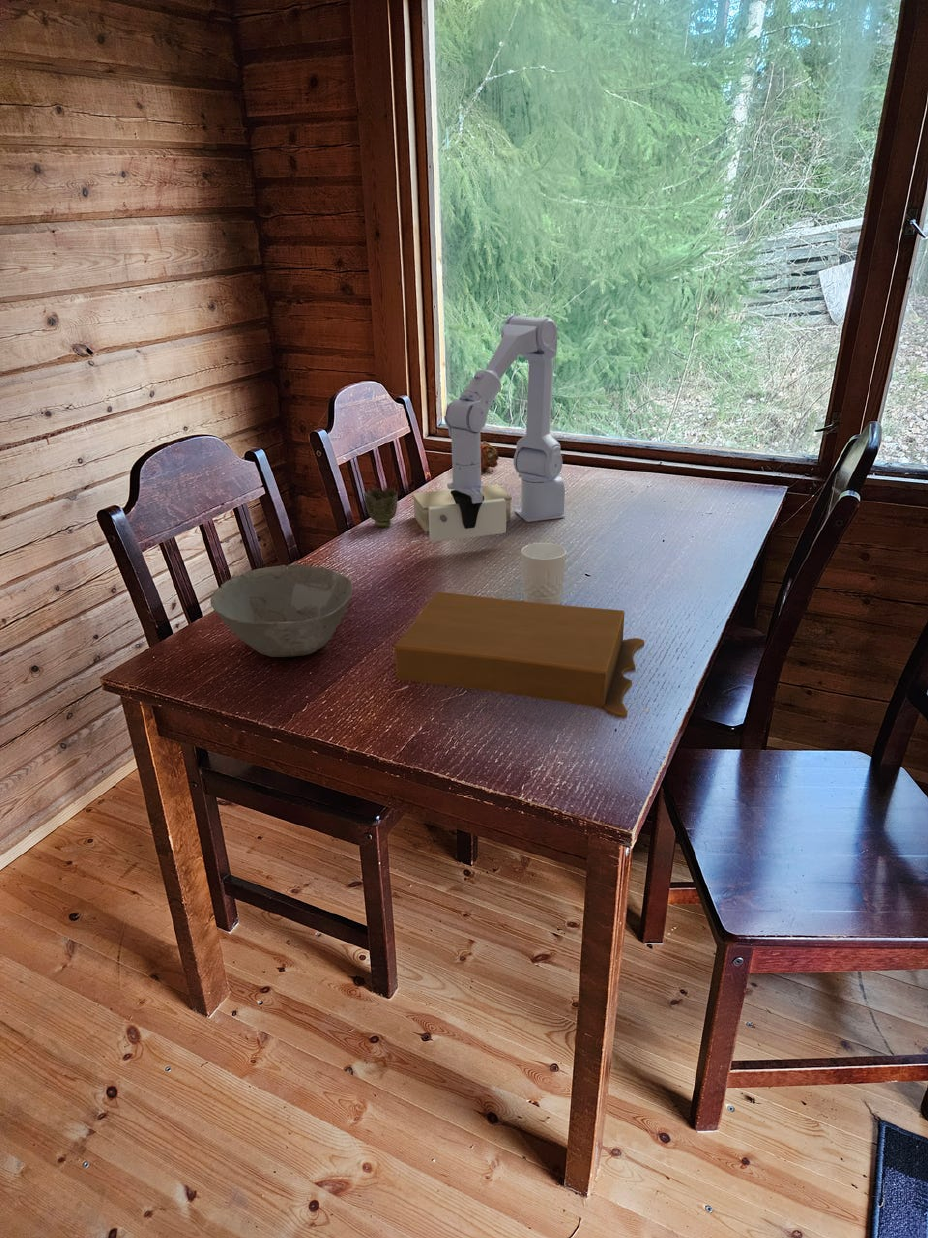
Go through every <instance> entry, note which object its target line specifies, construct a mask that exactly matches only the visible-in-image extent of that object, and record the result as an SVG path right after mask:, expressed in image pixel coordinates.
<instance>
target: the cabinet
mask: <svg viewBox="0 0 928 1238" xmlns="http://www.w3.org/2000/svg"><path fill="white" fill-rule="evenodd" d="M452 490H455V489H443V490H434V491H426V492H416V493H412V494H411V495H412V499H413V515H414V516H413V517H414V519H415V520H416V521H417V523H418V524H419V526H420V527H421V528H422V530H423V531H424V532H425V533H426V532H429V510H428V507H433V506H441V505H450V504H456V503H455V500H454V498H453V496H452V494H451V491H452ZM481 492H482V493H483V496H484V500H493V499H501V498H504V499H505V500H506V530H507V528H508V526H507V525H508V522H511V516H512V515H511V514H512V513H511V508H512V507H511V505H512V503H511V502H512V500H513V499H512V496H511V495H509V493H507V491H505V490H504V489H503V488H502V487H501V486H499V484H490V485H489V484H487V485H482V491H481Z"/></svg>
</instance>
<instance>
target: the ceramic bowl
mask: <svg viewBox="0 0 928 1238" xmlns="http://www.w3.org/2000/svg"><path fill="white" fill-rule="evenodd" d="M353 591H354V585H353V583H352V580H351V579H350V578H349V577H348V576H346V575H345V574H343V573H340V572H338V571H336V570H333V569H330V568H326V567H322V566H315V565H313V566H312V565H309V564H300V563H293V564H287V565H285V564H282V565H277V566H268V567H260V568H256V569H252V570H248V571H246V572H243V573H241V574H240V575H239V574H238V575H235V576H233V577H232V578H231V577H230V579H227V580H226V581H225V582H223V583H222V584H220V587H217V588H216V589H215V590H214V591H213V592H212V595H211V597H210V605H211V608H212V609H213V610H214V612H215V613H216V614H217V615H218V616H219V617H220V619H222V620H223V621H222V622H224V623H225V625H226V626H227V627H228V629H230V630H231V631H232V633H233V634H235V636H236V637H238V639H240V640H241V641H242V642H243V643H245V644H246V645H248V646H249V647H251V649H254V650H255V651H257V652H258V653H259V654H261V655H263V656H267V657H271V658H290V657H300V656H301V657H302V656H308V655H311V654H313V653H315V652H316V651H319V649H321V648H323V647H325V646H326V644H327V643H328V641H330V639H331V638H332V637H333V635H334V633H335V631H337V627H338V626H339V625H340V623H341V621H342V619H343V617H344V615H345V613H346V611H347V609H348V605H349V603H350V600H351V598H352V595H353Z"/></svg>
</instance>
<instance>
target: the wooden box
mask: <svg viewBox="0 0 928 1238" xmlns="http://www.w3.org/2000/svg"><path fill="white" fill-rule="evenodd" d="M625 614H626V613H625V610H620V609H609V608H599V607H597V608H596V607H589V606H588V607H584V606H577V605H576V606H574V605H567V604H566V605H565V604H560V605H556V604H546V603H535V602H525V601H524V600H515V599H509V598H508V599H503V598H497V597H489V596H480V595H472V594H463V593H456V592H455V593H454V592H446V591H438V590H437V591H436V592H435V594H433V596H432V598H431V599H430V600H429V601H428V603H427V604H426V605H425V607H424V608H423V609H422V610H421V612H420V613H419V614H418V615H417V617H416V618H415V619H414V621H413V622H412V623H411V624H410V625H409V627H408V628H407V630H406V631H404V633H403V635H401V636H400V637H399V639H398V641H396V644H394V658H395V670H396V679H398V680H401V681H407V682H416V683H425V684H432V685H434V684H435V685H442V686H451V687H457V688H465V689H473V690H479V691H486V692H487V691H488V692H495V693H503V694H508V695H516V696H520V697H521V696H523V697H528V698H534V699H539V700H540V699H542V700H547V701H548V700H549V701H553V702H559V703H565V704H566V703H567V704H573V705H579V706H586V707H591V708H596V709H602V710H603V711H605V712H606V713H608V714H609V715H611V716H614V717H616V718H627V716H628V710H627V708H626V707H625V705H624V704H623V698H624V695H625V693H626V692H627V690H628V689H629V688H630V687H631V686H632V685H633V680H631V679H629V678H627V677H625V675H624V673H626V672H631V671H636V664H635V659H634V654H635V652H636V651H637V650H638V649H639V648H641V647H643V646H644V644H645V640H644V639H643V638H638V637H633V638H628V639H624V627H625V626H624V625H625Z"/></svg>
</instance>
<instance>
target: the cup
mask: <svg viewBox="0 0 928 1238" xmlns="http://www.w3.org/2000/svg"><path fill="white" fill-rule="evenodd" d="M398 494H399V492H398V491H397V489H396V490H395V489H394V488H393V487H390V488H389V487H386V488H385V489H384V490H381V488H380V487H377V488H376V487H373V488H371V490H370V489H367V491H366V490H365V491H364V493H363V495H364V500H365V505H366V506H365V507H366V510H367V513H368V516H369V517H370V518H371V520H373V521H374V525H375V526H376V528H379V529H380V528H381V529H384V528H388V527H390V526H391V524H392V521H391V520H392V519H394V518H395V516H396V514H397V511H398V510H397V509H398Z"/></svg>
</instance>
